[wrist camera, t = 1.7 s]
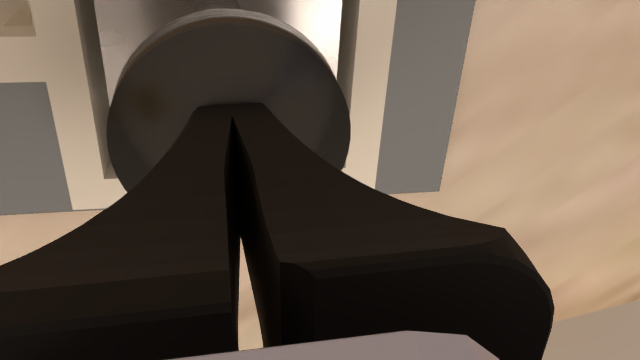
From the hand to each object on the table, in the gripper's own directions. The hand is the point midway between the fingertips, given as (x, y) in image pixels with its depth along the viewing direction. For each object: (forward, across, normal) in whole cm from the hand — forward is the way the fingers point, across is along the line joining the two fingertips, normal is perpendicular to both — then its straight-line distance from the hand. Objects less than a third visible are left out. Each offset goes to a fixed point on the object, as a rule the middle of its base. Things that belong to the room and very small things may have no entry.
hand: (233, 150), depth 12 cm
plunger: (+6, 0, 0) cm, 6 cm away
